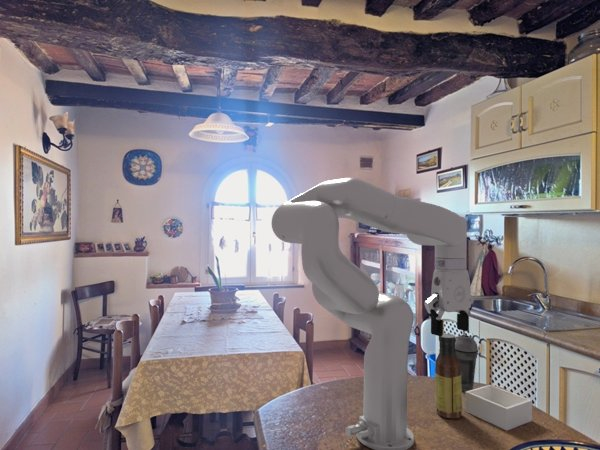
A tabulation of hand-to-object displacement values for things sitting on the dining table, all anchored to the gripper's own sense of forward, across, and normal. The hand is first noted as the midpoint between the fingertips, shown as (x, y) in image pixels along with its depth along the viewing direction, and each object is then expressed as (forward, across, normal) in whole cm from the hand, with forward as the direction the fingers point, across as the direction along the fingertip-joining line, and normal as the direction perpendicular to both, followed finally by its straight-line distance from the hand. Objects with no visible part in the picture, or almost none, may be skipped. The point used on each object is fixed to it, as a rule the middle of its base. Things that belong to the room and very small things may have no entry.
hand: (450, 332), depth 101 cm
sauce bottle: (+21, -1, 0) cm, 21 cm away
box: (+21, +10, -6) cm, 24 cm away
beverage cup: (+21, +17, +9) cm, 29 cm away
